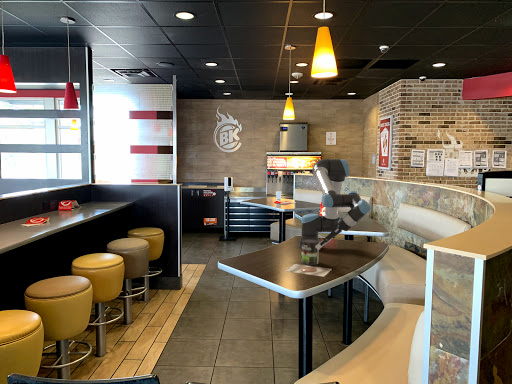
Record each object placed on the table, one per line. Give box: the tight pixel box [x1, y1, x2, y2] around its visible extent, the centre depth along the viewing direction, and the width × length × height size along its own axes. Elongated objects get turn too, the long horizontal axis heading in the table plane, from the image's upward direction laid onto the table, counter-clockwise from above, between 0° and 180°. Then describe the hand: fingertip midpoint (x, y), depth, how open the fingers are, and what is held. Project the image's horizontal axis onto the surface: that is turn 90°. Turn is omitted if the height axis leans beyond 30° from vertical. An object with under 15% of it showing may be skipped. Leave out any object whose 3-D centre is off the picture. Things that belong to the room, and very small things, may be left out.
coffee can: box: [300, 239, 320, 266], centre depth 230 cm, size 10×10×14 cm
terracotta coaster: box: [300, 267, 317, 272], centre depth 215 cm, size 9×9×1 cm
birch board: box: [284, 263, 332, 278], centre depth 215 cm, size 22×16×1 cm
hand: (320, 246), depth 226 cm, fingers open, 13 cm apart
